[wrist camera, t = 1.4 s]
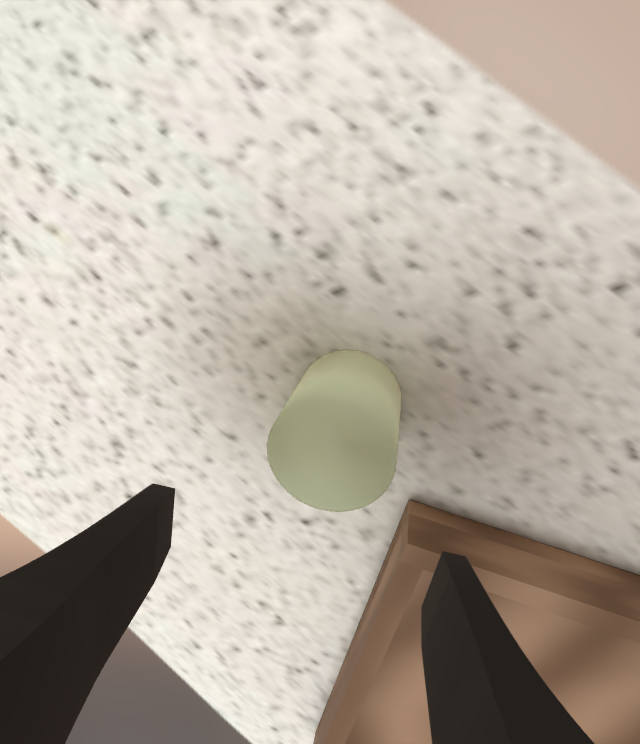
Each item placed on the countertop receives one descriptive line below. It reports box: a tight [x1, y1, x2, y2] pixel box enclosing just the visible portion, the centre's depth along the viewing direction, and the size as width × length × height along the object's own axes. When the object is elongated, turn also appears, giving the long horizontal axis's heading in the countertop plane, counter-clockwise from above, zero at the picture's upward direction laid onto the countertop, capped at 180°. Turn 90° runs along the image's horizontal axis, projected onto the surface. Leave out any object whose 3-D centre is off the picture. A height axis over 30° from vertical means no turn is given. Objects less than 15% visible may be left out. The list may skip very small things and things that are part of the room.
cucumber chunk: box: [267, 350, 401, 512], centre depth 19 cm, size 4×4×5 cm
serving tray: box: [314, 500, 640, 744], centre depth 24 cm, size 18×18×3 cm
